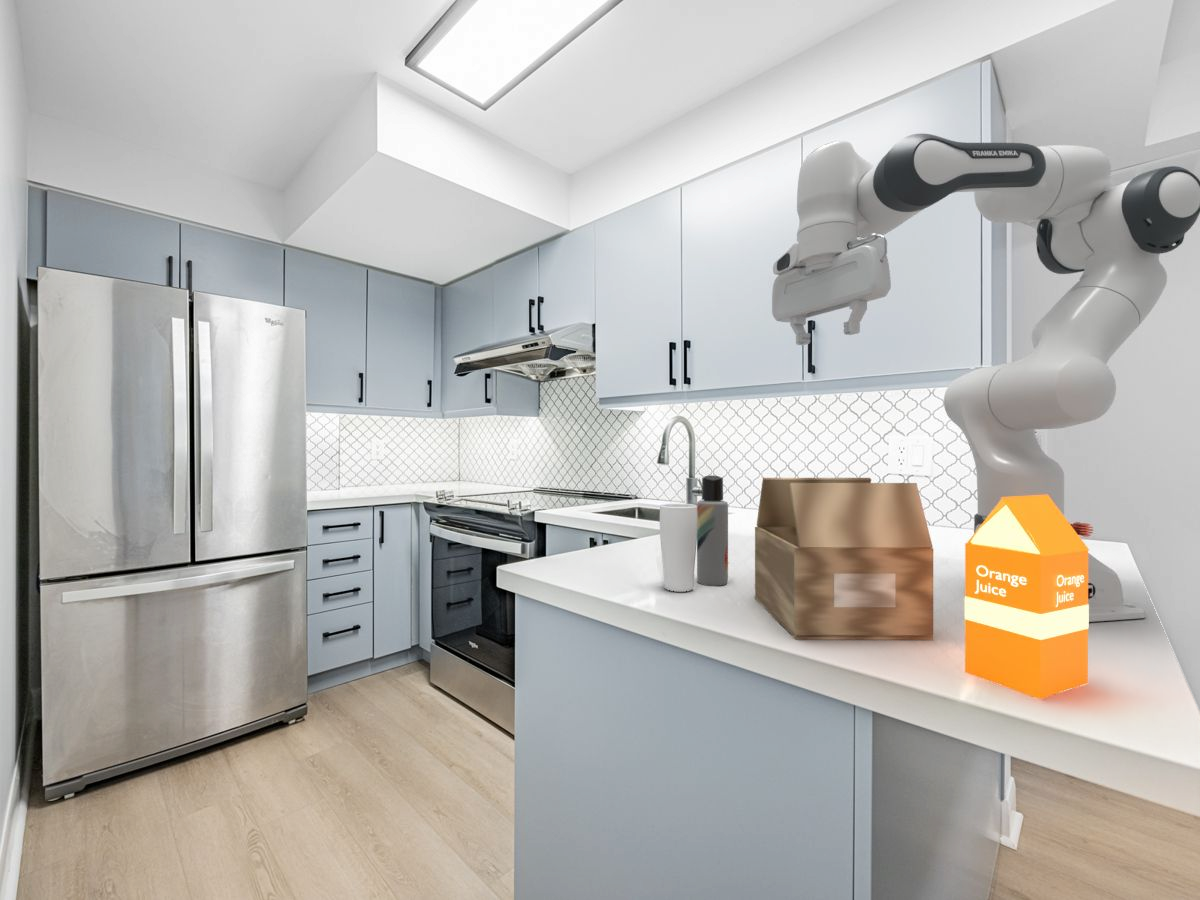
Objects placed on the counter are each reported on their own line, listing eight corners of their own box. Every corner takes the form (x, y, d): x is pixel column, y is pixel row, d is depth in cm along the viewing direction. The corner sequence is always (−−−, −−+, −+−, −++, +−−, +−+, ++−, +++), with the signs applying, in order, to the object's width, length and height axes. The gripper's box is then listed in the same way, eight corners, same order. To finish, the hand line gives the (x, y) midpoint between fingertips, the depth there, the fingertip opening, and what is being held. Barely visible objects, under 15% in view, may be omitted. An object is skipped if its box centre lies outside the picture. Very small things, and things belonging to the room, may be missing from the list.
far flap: (860, 526, 93) (859, 524, 93) (871, 479, 89) (869, 477, 90) (757, 526, 93) (756, 524, 94) (763, 479, 89) (762, 477, 90)
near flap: (914, 484, 77) (916, 482, 76) (930, 548, 73) (932, 547, 72) (789, 484, 77) (790, 482, 76) (798, 548, 73) (800, 547, 73)
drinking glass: (674, 582, 104) (674, 502, 104) (705, 589, 99) (705, 505, 99) (651, 589, 99) (651, 505, 99) (683, 596, 94) (683, 508, 94)
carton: (862, 598, 93) (862, 526, 93) (933, 640, 73) (933, 548, 73) (754, 598, 93) (754, 526, 93) (796, 639, 73) (796, 548, 73)
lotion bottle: (725, 579, 107) (726, 475, 107) (729, 586, 101) (729, 476, 101) (696, 578, 107) (696, 475, 107) (698, 585, 102) (698, 476, 102)
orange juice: (963, 671, 63) (963, 494, 63) (1011, 659, 66) (1011, 492, 66) (1042, 700, 56) (1042, 500, 55) (1090, 684, 59) (1091, 497, 59)
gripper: (900, 232, 80) (900, 328, 80) (792, 272, 98) (792, 350, 98) (871, 224, 77) (870, 324, 77) (765, 267, 95) (765, 348, 95)
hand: (826, 339), depth 88 cm, fingers open, 8 cm apart
